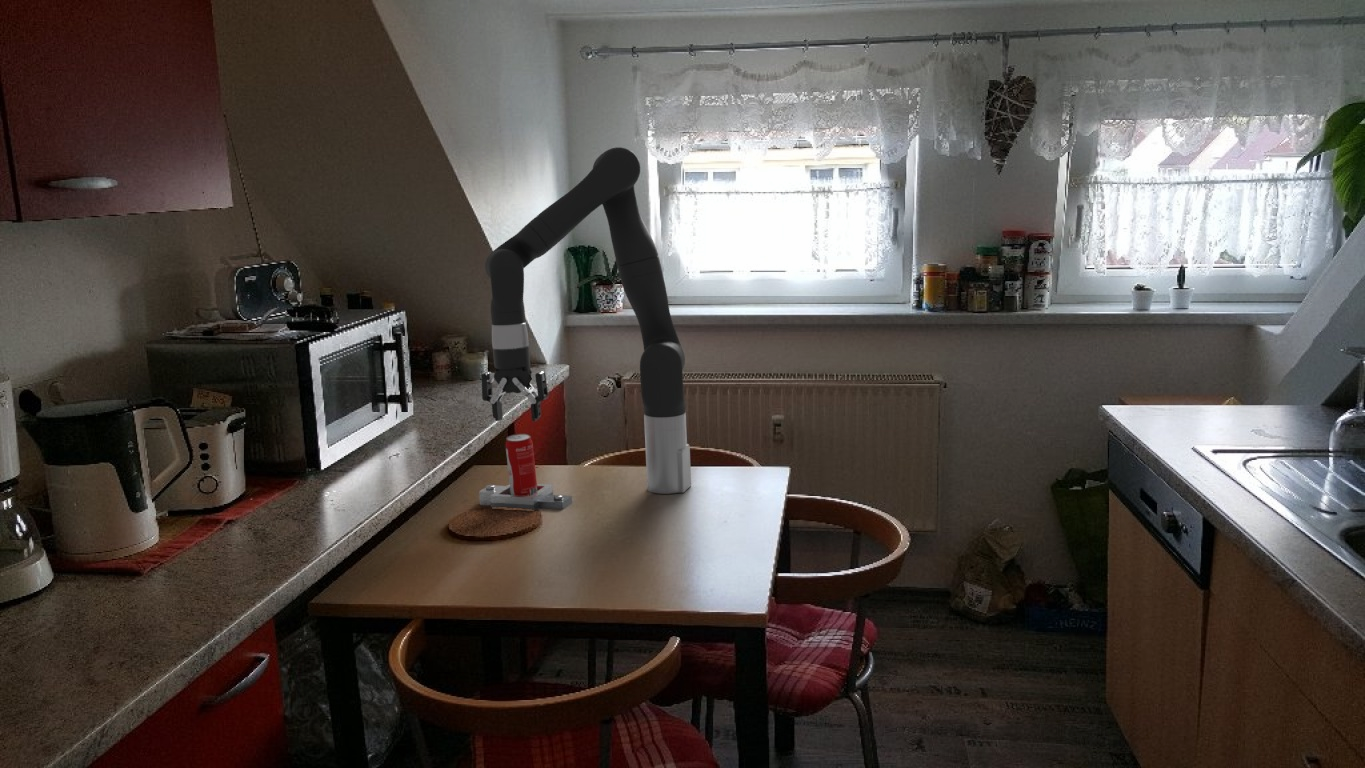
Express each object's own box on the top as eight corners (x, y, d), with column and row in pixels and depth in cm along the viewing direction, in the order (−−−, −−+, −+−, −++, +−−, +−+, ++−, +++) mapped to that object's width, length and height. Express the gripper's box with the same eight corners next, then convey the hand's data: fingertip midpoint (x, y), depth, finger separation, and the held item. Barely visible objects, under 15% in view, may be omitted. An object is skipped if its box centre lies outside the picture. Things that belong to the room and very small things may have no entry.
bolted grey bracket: (576, 499, 213) (575, 483, 212) (558, 513, 204) (557, 496, 203) (495, 495, 219) (494, 479, 218) (474, 508, 209) (473, 492, 208)
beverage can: (541, 498, 214) (536, 432, 212) (534, 507, 208) (529, 439, 205) (514, 498, 215) (509, 432, 212) (506, 507, 208) (501, 439, 206)
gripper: (549, 341, 207) (555, 416, 209) (488, 343, 211) (495, 416, 213) (534, 347, 199) (540, 424, 202) (471, 348, 203) (478, 424, 206)
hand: (517, 420), depth 208 cm, fingers open, 8 cm apart
